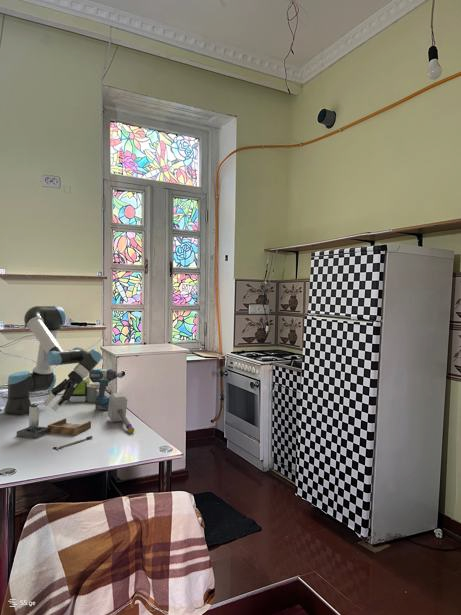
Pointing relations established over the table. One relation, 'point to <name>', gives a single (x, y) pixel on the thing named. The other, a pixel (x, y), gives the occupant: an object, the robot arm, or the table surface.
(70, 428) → the brown wooden tray
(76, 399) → the tea box
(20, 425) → the table surface
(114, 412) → the hammer
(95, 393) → the grey box
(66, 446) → the tan and black strip
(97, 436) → the table surface
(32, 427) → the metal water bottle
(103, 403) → the impact wrench
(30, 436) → the socket
